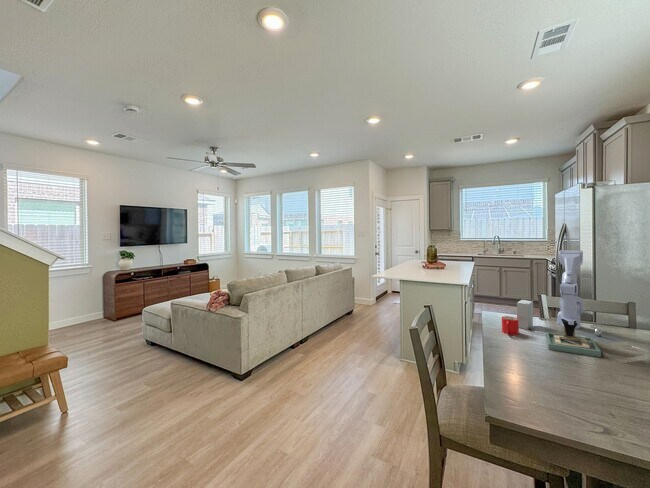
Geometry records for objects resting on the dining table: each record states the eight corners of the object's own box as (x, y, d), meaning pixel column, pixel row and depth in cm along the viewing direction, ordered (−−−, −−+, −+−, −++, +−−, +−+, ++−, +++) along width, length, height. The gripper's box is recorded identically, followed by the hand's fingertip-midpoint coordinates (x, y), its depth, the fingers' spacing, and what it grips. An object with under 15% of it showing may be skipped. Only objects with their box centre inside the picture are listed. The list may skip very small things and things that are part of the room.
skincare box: (521, 324, 170) (521, 299, 170) (533, 326, 166) (533, 300, 165) (516, 327, 165) (516, 301, 165) (528, 330, 160) (528, 303, 160)
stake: (589, 334, 147) (589, 325, 147) (593, 333, 147) (593, 325, 147) (603, 338, 141) (603, 329, 141) (607, 338, 141) (607, 329, 141)
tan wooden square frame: (590, 350, 129) (590, 340, 129) (556, 345, 136) (556, 335, 136) (585, 340, 139) (585, 330, 139) (553, 336, 146) (553, 326, 146)
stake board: (572, 335, 150) (572, 332, 150) (596, 332, 153) (596, 329, 153) (605, 346, 136) (605, 343, 136) (630, 342, 138) (630, 339, 138)
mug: (499, 335, 154) (499, 320, 154) (503, 329, 164) (502, 315, 163) (516, 338, 149) (516, 323, 149) (519, 331, 159) (519, 317, 158)
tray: (548, 349, 135) (548, 343, 135) (545, 336, 150) (545, 332, 150) (600, 357, 125) (600, 351, 125) (592, 343, 140) (592, 337, 140)
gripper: (582, 312, 133) (582, 341, 134) (577, 305, 145) (577, 331, 146) (562, 310, 137) (562, 338, 138) (559, 303, 149) (559, 329, 150)
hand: (569, 335), depth 142 cm, fingers closed on tan wooden square frame
